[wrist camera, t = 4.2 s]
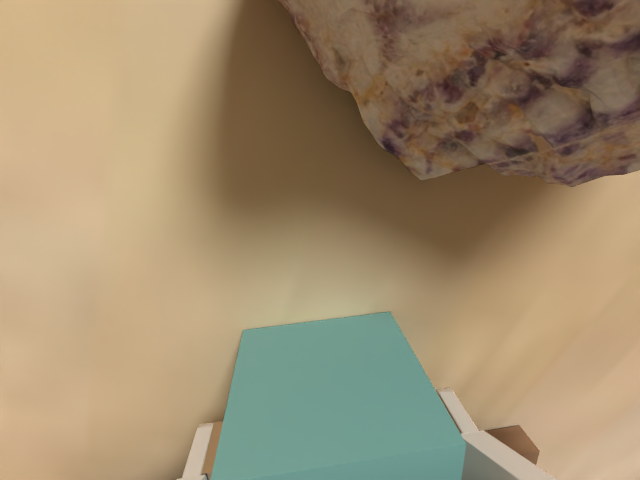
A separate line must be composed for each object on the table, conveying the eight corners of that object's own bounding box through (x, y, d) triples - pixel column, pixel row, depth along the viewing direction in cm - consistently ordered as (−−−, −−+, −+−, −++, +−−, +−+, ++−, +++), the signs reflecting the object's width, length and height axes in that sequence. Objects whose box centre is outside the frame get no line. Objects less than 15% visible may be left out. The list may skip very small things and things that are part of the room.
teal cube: (390, 311, 11) (466, 443, 6) (389, 417, 13) (447, 579, 8) (243, 329, 11) (209, 485, 6) (264, 436, 13) (250, 617, 8)
